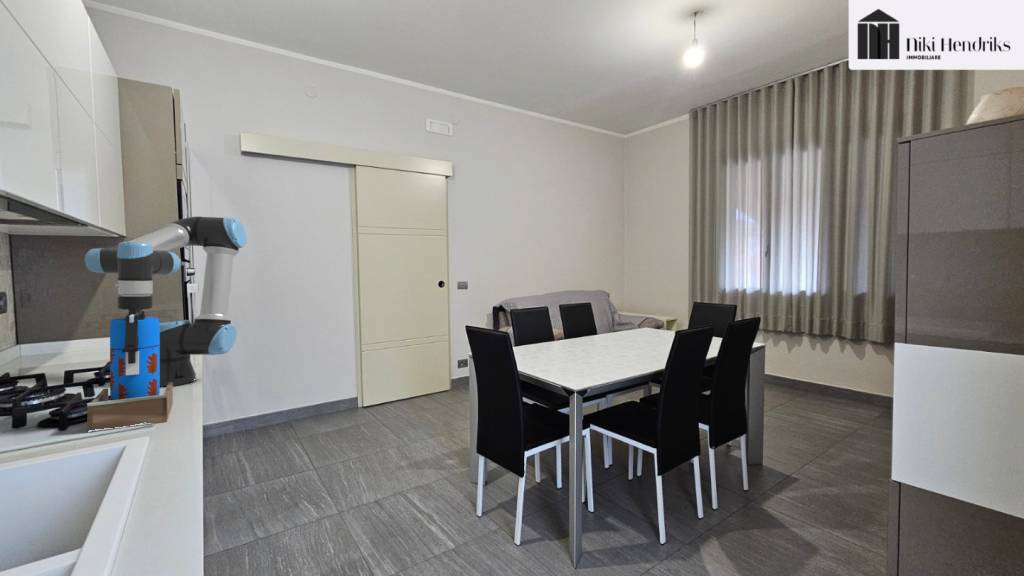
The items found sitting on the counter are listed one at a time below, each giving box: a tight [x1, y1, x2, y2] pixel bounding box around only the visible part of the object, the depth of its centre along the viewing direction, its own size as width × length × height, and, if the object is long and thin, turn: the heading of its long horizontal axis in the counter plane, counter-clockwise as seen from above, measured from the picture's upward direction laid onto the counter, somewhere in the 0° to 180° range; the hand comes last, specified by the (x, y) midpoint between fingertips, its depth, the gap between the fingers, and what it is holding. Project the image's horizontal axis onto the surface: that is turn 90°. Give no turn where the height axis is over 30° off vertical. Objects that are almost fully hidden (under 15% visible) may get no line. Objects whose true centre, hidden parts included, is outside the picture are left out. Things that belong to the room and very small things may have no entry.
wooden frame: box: [86, 382, 174, 432], centre depth 121 cm, size 19×16×8 cm
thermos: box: [109, 316, 161, 400], centre depth 123 cm, size 11×11×25 cm
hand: (135, 370), depth 123 cm, fingers closed on thermos, 11 cm apart
